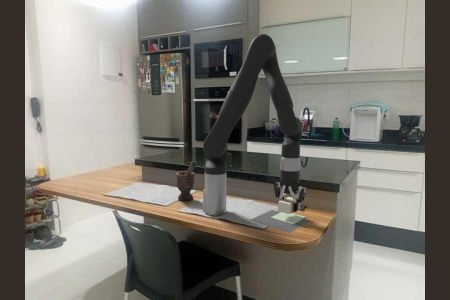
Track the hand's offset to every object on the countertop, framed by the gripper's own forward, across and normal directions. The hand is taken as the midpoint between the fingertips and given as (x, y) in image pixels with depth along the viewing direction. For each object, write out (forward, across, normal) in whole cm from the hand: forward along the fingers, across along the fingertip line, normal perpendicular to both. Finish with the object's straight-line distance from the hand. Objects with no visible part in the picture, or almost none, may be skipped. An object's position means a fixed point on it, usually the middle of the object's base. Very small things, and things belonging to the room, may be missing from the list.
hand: (288, 209), depth 120 cm
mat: (+4, +1, +5) cm, 6 cm away
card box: (0, 0, 0) cm, 0 cm away
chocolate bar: (+5, +4, -9) cm, 11 cm away
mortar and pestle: (+4, +48, +11) cm, 49 cm away
